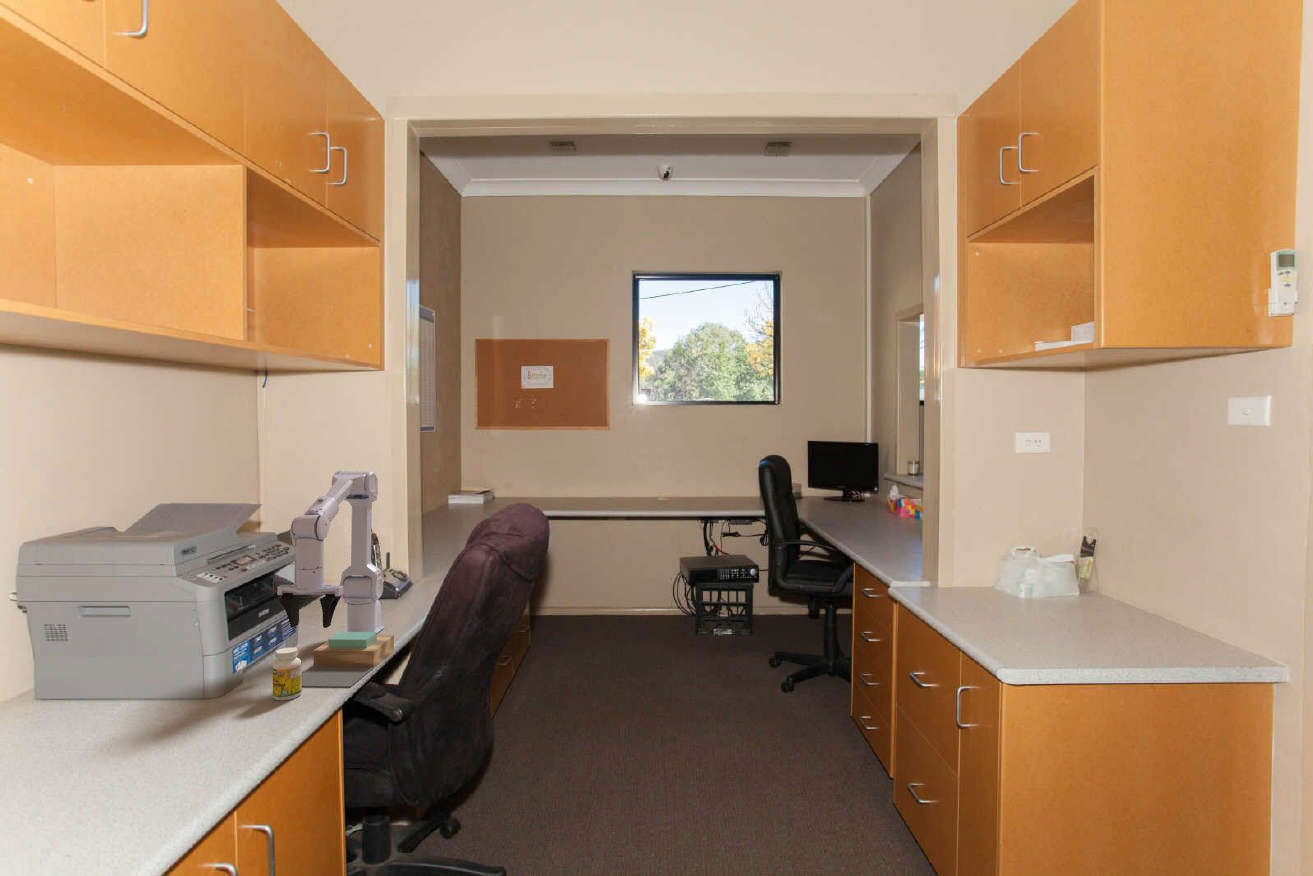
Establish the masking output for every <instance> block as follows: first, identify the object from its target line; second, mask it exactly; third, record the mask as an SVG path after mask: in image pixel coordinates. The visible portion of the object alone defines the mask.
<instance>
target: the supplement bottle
mask: <svg viewBox="0 0 1313 876" xmlns="http://www.w3.org/2000/svg"><path fill="white" fill-rule="evenodd" d="M297 656H298V648H296V647H284V648H280V649H278V650H276V651H275V658H276V660H275V661H274V662H273V664H272V667H271V669H272V670H271V671H272V673H271V674H272V696H273V697H272V698H273V699H274V700H276V701H289V700H294V699H296V698H298V697H300V696H302V693H303V691H302V690H303V687H302V674H303V673H302V660H301V658H298V657H297Z"/></svg>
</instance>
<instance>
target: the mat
mask: <svg viewBox="0 0 1313 876" xmlns="http://www.w3.org/2000/svg"><path fill="white" fill-rule="evenodd" d="M374 669H375V668H374V667H323V666H314V665H313V666H311V668H309V669H308V670H307V671H305V672H303V673H302V688H339V689H340V688H343V689H344V688H348V689H349V688H350V689H351V688H352V687H354V685H356V684H357V683H358V682H359V681H360V680H362V679H363V678H364V677H365V676H367V675H368V674H369V673H370V672H371V671H372V670H374Z"/></svg>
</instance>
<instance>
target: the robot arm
mask: <svg viewBox="0 0 1313 876" xmlns="http://www.w3.org/2000/svg"><path fill="white" fill-rule="evenodd" d="M378 484H379V480H378V477H377V475H376V474H375V472H374V471H373V470H369V471H365V470H364V471H359V470H357V471H355V470H351V471H349V470H348V471H347V470H345V471H343V470H336V472H334V473H333V476H332V479H331V487H330V489H329V491H328V492H327V493H326V495H325V496H319V497H318V498H317V499H316V500H315V501H314V502H313V503H312V504H311V506H309V508H308V509H307V510H306V512H304V513H303V514H299V515H297V516H296V517H294V518H293V519H292V521H291V525H290V529H289V531H290V536H291V538H292V542H293V543H292V545H293V548H294V549H295V570H296V573H295V574H296V575H295V576H296V579H295V581H296V583H295V584H281V585H279V586H277V593H276V594H277V596H281V597H279V599H278V601H279V603H280V605H282V608H283V609H284V611H285V613H286V616H287V618H288V621H289V622H288V623H289V626H290V628H295V627H297V626H298V625H299V623H300V604H301V599H302V596H323V597H321V598H319V603H320V607H321V610H322V611H321V612H322V627H323V629H327V628H329V627H330V626H331V625H332V620H333V616H334V613H335V611H336V608H337V605H338V603H339V601H340V599H342V600H344V603H345V604H346V632H377V634H378V633H379V632H381V631H383V630H384V629H385V626H383V625H382V606H381V602H380V600H379V599H380V598H382V597H381V596H382V595H383V592H384V581H383V575H382V570H381V569H380V568H379V567H377V566H376V565H374V564H373V563H372V523H373V522H372V521H373V520H372V518H373V517H372V515H373V513H372V512H373V502H376V501H377V500H378V494H379V490H378V489H379V487H378V486H379V485H378ZM343 501H345V502H348V504H350V507H351V535H350V537H351V539H350V540H351V541H350V542H351V544H350V546H351V547H350V549H351V550H350V566H348V567H347V568H345V569H344V570H343V571H342V572H341V574H340V575H341V578H340V581H339V585H336V584H335V585H333V584H327V583H325V557H324V556H325V555H324V554H325V549H324V548H325V546H324V545H325V543H324V541H325V539H326V538H327V537H328V533H329V529H330V527H331V522H332V521H333V520H334V518H335V517H336V516H337V515H338V514H339V511H340V507H339V505H340V504H341V503H342V502H343Z"/></svg>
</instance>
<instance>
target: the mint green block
mask: <svg viewBox="0 0 1313 876" xmlns="http://www.w3.org/2000/svg"><path fill="white" fill-rule="evenodd" d="M377 635H378V633H377V632H347V631H339V632H338V633H336V634H334V635H333V636H331V637H330V638H328V639H327V641H328V648H368V647H369V646H370V645H372V644H373V643H374V642H376V641H377Z"/></svg>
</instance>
